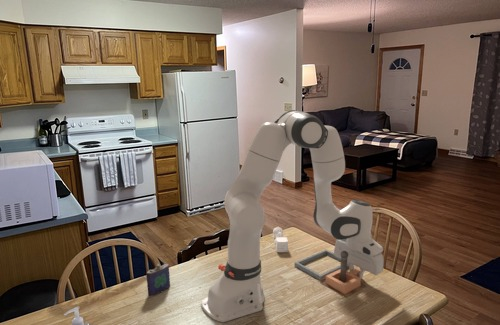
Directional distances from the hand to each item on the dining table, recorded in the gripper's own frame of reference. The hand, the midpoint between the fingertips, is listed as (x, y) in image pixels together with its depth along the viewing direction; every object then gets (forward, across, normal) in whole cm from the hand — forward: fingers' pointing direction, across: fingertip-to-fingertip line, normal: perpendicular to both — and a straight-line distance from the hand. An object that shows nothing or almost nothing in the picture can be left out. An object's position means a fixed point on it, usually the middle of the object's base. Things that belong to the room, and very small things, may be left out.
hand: (356, 275), depth 140 cm
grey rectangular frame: (+2, -14, -3) cm, 14 cm away
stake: (+2, 0, -8) cm, 8 cm away
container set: (+3, -43, -1) cm, 43 cm away
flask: (+2, -40, -63) cm, 75 cm away
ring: (+1, 0, -6) cm, 6 cm away
